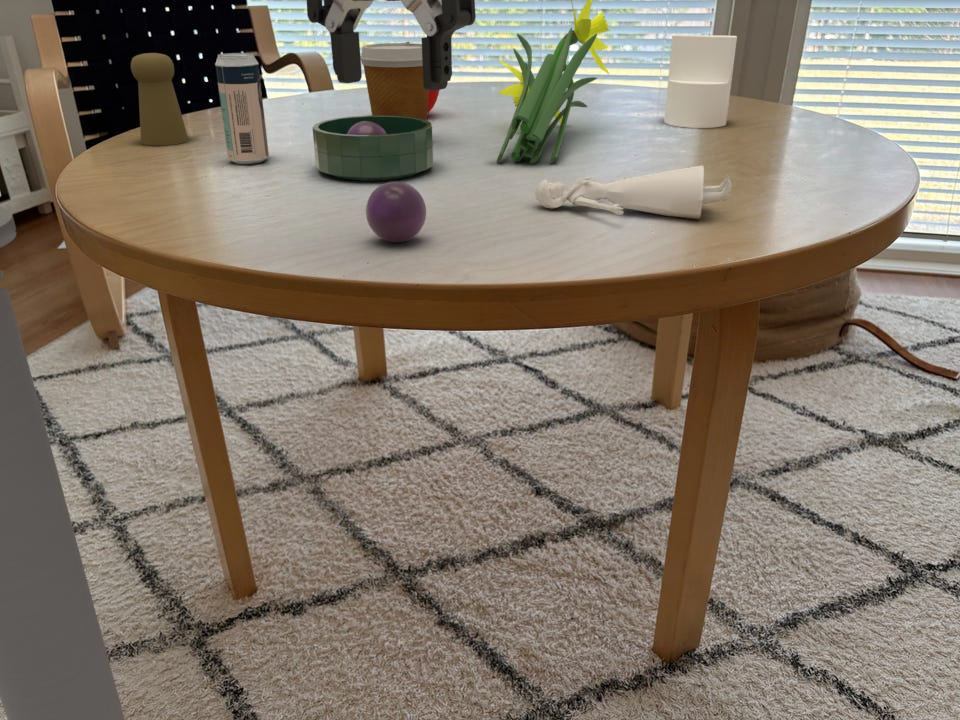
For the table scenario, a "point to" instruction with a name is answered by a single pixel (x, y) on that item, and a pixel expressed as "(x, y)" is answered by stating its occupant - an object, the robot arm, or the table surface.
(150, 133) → the olive pawn
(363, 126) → the ball left
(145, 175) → the table surface
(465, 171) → the table surface
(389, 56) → the disposable coffee cup
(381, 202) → the ball front
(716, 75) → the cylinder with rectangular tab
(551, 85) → the daffodil flowers
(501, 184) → the table surface
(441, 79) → the robot arm
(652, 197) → the woman figurine
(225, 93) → the beer can
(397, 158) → the bowl
